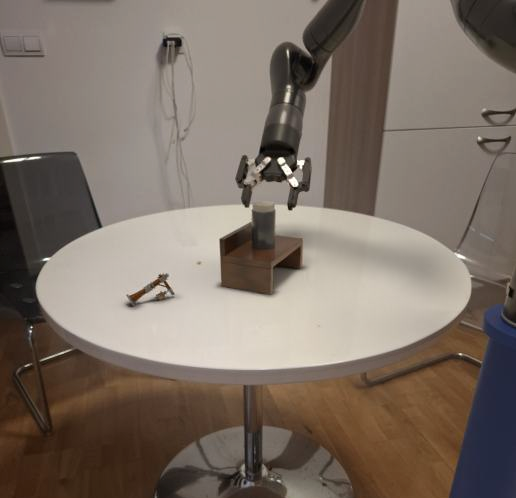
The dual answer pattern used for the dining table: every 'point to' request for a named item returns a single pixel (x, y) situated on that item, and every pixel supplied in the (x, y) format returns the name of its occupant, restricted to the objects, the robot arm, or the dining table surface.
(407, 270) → the dining table surface
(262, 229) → the salt shaker
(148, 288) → the brown slender grey-tipped part
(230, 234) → the shelf
